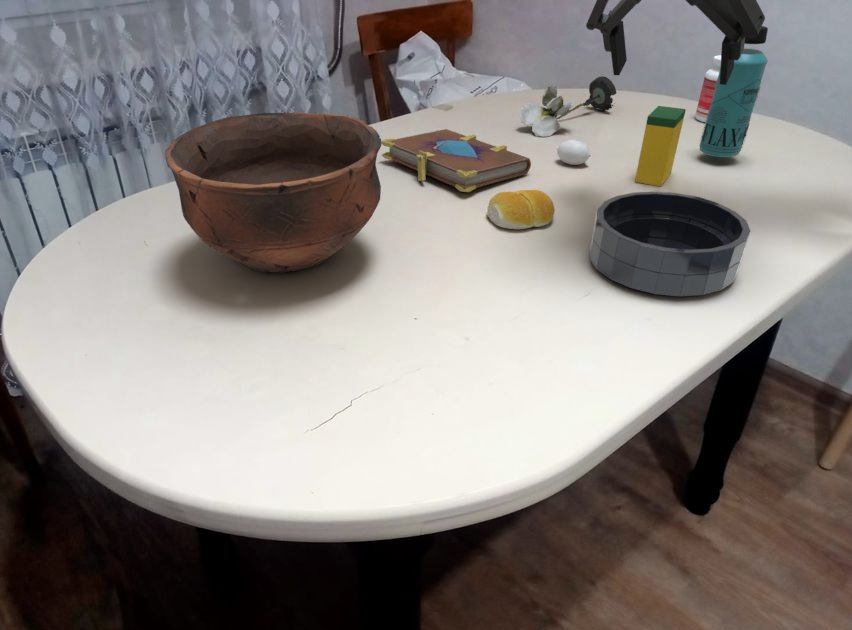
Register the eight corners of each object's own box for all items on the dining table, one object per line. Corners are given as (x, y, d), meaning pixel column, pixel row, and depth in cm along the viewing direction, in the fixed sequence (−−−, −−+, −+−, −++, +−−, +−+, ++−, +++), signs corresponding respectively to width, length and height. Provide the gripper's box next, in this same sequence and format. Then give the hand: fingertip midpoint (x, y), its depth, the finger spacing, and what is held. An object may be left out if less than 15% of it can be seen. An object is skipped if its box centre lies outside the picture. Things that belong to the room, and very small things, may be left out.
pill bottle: (713, 126, 122) (729, 62, 115) (687, 118, 126) (701, 56, 120) (736, 121, 124) (754, 58, 117) (710, 113, 128) (726, 52, 122)
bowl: (154, 302, 76) (120, 176, 67) (226, 213, 95) (207, 107, 87) (368, 314, 72) (361, 183, 64) (396, 220, 92) (394, 109, 83)
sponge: (670, 174, 103) (686, 108, 98) (661, 186, 99) (676, 119, 94) (644, 169, 105) (658, 105, 99) (634, 182, 101) (647, 115, 95)
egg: (560, 157, 111) (563, 134, 109) (594, 164, 108) (597, 140, 106) (549, 163, 108) (552, 140, 106) (583, 171, 105) (587, 147, 103)
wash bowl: (745, 253, 82) (760, 207, 78) (719, 315, 70) (735, 266, 67) (612, 225, 89) (620, 182, 86) (569, 277, 78) (577, 231, 74)
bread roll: (564, 225, 90) (567, 197, 87) (504, 235, 87) (506, 207, 85) (534, 202, 96) (537, 175, 94) (478, 211, 94) (480, 184, 91)
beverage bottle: (688, 159, 108) (721, 26, 97) (707, 150, 112) (741, 20, 100) (727, 169, 104) (766, 31, 92) (746, 159, 108) (786, 25, 96)
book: (432, 142, 121) (433, 114, 118) (532, 180, 105) (536, 149, 102) (359, 157, 113) (359, 128, 110) (456, 201, 97) (458, 168, 94)
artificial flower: (620, 121, 130) (637, 73, 122) (536, 158, 122) (548, 109, 114) (588, 99, 134) (603, 52, 126) (504, 133, 126) (514, 85, 118)
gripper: (542, -56, 74) (569, 85, 92) (788, -61, 61) (766, 104, 79) (569, -103, 76) (591, 44, 93) (814, -117, 63) (786, 56, 80)
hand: (671, 72), depth 86 cm, fingers open, 13 cm apart
